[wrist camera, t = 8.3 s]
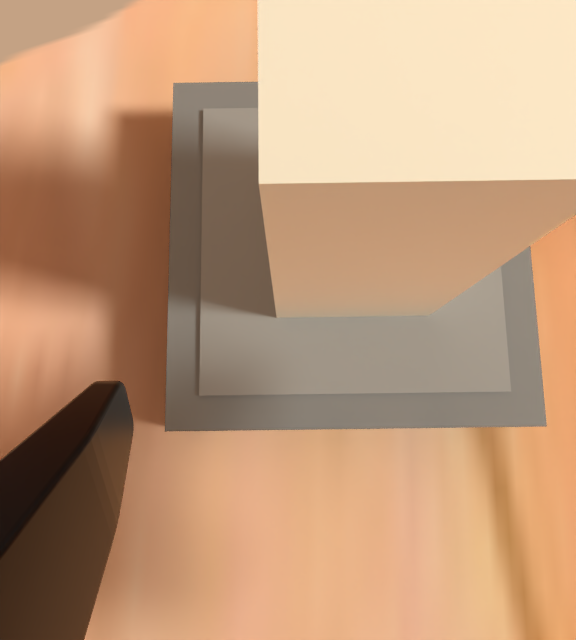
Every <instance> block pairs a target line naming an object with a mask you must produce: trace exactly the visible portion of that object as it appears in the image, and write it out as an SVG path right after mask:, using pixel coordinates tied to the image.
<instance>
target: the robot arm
mask: <svg viewBox="0 0 576 640" xmlns="http://www.w3.org/2000/svg"><path fill="white" fill-rule="evenodd" d="M132 437H133V418H132V414H131V409H130V405H129V401H128V397H127V393H126V389H125V386H124V385H123V383H122V382H120V381H98V382H94V383H93V384H91V385H90V386H89V387H88V388H86V389H85V390H84V391H83V392H82V393H80V394H79V395H78V396H77V397H76V398H74V399H73V400H72V401H71V402H70V403H68V404H67V405H66V406H65V407H64V408H62V409H61V410H60V411H59V412H58V413H56V414H55V415H54V416H53V417H51V418H50V419H49V420H48V421H47V422H45V423H44V424H43V425H42V426H41V427H39V428H38V429H37V430H36V431H35V432H33V433H32V434H31V435H30V436H29V437H27V438H26V439H25V440H24V441H23V442H21V443H20V444H19V445H18V446H17V447H15V448H14V449H13V450H12V451H11V452H9V453H8V454H7V455H6V456H5V457H3V458H2V459H1V460H0V640H84V639H85V635H86V632H87V628H88V625H89V621H90V618H91V615H92V611H93V608H94V604H95V601H96V598H97V594H98V591H99V587H100V584H101V580H102V577H103V574H104V570H105V567H106V563H107V560H108V556H109V553H110V550H111V546H112V543H113V539H114V535H115V532H116V528H117V524H118V519H119V513H120V508H121V502H122V496H123V490H124V484H125V479H126V473H127V467H128V461H129V455H130V449H131V443H132Z"/></svg>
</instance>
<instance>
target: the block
mask: <svg viewBox="0 0 576 640" xmlns="http://www.w3.org/2000/svg"><path fill="white" fill-rule="evenodd" d="M258 150H259V190H260V197H261V205H262V212H263V220H264V227H265V235H266V242H267V250H268V257H269V265H270V272H271V280H272V287H273V295H274V302H275V310H276V317H277V318H295V317H364V316H429V315H430V314H432V313H433V312H435V311H436V310H438V309H439V308H441V307H442V306H444V305H445V304H446V303H448V302H449V301H451V300H452V299H454V298H455V297H457V296H458V295H460V294H461V293H462V292H464V291H465V290H467V289H468V288H470V287H471V286H473V285H474V284H476V283H477V282H478V281H480V280H481V279H483V278H484V277H486V276H487V275H489V274H490V273H492V272H493V271H494V270H496V269H497V268H499V267H500V266H502V265H503V264H505V263H506V262H508V261H509V260H510V259H512V258H513V257H515V256H516V255H518V254H519V253H521V252H522V251H524V250H525V249H526V248H528V247H529V246H531V245H532V244H534V243H535V242H537V241H538V240H540V239H541V238H542V237H544V236H545V235H547V234H548V233H550V232H551V231H553V230H554V229H556V228H557V227H558V226H560V225H561V224H563V223H564V222H566V221H567V220H569V219H570V218H572V217H573V216H575V215H576V0H258Z"/></svg>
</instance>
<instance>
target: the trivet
mask: <svg viewBox="0 0 576 640" xmlns="http://www.w3.org/2000/svg"><path fill="white" fill-rule="evenodd" d="M532 426H547V425H546V414H545V403H544V392H543V381H542V370H541V359H540V348H539V337H538V326H537V315H536V304H535V294H534V283H533V272H532V261H531V250H530V246H529V247H528V248H526V249H525V250H524V251H522V252H521V253H519V254H518V255H516V256H515V257H513V258H512V259H510V260H509V261H508V262H506V263H505V264H503V265H502V266H500V267H499V268H497V269H496V270H494V271H493V272H492V273H490V274H489V275H487V276H486V277H484V278H483V279H481V280H480V281H478V282H477V283H476V284H474V285H473V286H471V287H470V288H468V289H467V290H465V291H464V292H462V293H461V294H460V295H458V296H457V297H455V298H454V299H452V300H451V301H449V302H448V303H446V304H445V305H444V306H442V307H441V308H439V309H438V310H436V311H435V312H433V313H432V314H430V315H429V316H364V317H295V318H277V317H276V310H275V302H274V295H273V287H272V280H271V272H270V265H269V257H268V250H267V242H266V235H265V227H264V220H263V212H262V205H261V197H260V190H259V150H258V82H213V83H174V84H173V124H172V164H171V205H170V245H169V285H168V325H167V366H166V406H165V431H227V430H303V429H380V428H456V427H532Z"/></svg>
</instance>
